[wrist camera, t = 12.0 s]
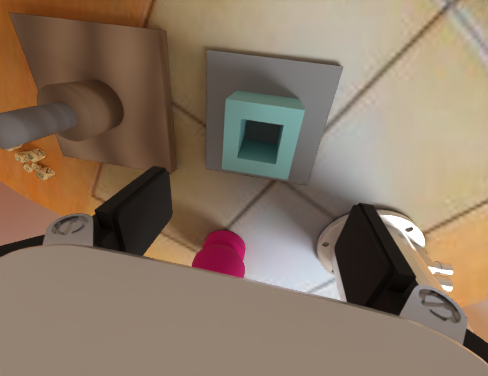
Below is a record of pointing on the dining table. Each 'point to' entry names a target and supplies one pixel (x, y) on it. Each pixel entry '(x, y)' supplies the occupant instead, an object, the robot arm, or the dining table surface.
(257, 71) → the mat
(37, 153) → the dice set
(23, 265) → the robot arm
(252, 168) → the collar
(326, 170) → the dining table surface
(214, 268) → the pepper mill
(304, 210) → the dining table surface
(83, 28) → the stand
